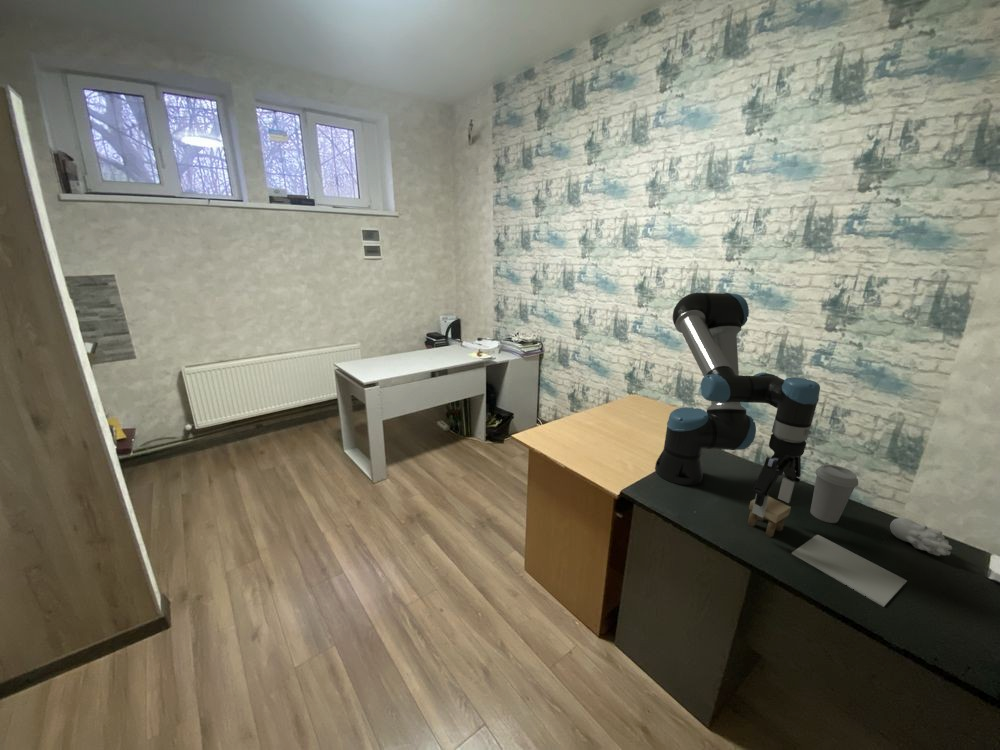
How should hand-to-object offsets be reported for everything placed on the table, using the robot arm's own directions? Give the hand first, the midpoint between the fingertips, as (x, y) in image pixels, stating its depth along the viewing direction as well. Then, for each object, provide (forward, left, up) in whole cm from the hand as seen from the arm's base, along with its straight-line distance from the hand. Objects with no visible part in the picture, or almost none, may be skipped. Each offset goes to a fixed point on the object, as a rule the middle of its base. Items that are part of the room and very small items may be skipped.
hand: (771, 507), depth 107 cm
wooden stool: (0, 0, -7) cm, 7 cm away
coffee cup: (+6, +21, -7) cm, 23 cm away
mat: (+18, +2, -7) cm, 19 cm away
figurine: (+24, +28, -7) cm, 37 cm away
